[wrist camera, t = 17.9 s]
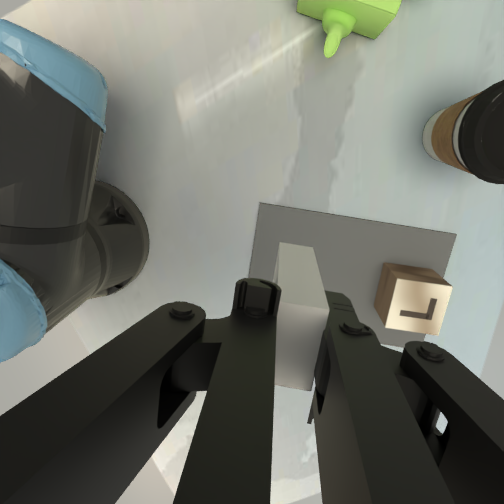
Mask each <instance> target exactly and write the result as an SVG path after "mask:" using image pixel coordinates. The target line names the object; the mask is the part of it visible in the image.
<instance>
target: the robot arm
mask: <svg viewBox="0 0 504 504" xmlns="http://www.w3.org/2000/svg"><path fill="white" fill-rule="evenodd" d="M107 98H108V87H107V83H106V81H105V79H104V77H103V76H102V74H101V73H100V72H99V71H98V70H97V69H96V68H95V67H94V66H93V65H91V64H90V63H89V62H87V61H86V60H84V59H82V58H81V57H79V56H77V55H76V54H74V53H72V52H70V51H68V50H67V49H65V48H63V47H61V46H59V45H57V44H55V43H53V42H51V41H49V40H47V39H45V38H43V37H41V36H39V35H37V34H35V33H33V32H31V31H29V30H27V29H25V28H23V27H21V26H18V25H16V24H14V23H12V22H9V21H7V20H4V19H0V362H3V361H6V360H8V359H10V358H12V357H14V356H16V355H17V354H18V353H20V352H21V351H23V350H24V349H26V348H27V347H30V346H33V345H35V344H36V343H38V342H39V341H40V340H41V338H43V335H44V334H45V333H47V332H48V331H49V330H51V329H52V328H53V327H54V326H55V325H57V324H58V323H59V322H60V321H62V320H63V319H64V318H65V317H67V316H68V315H69V314H70V313H72V312H73V311H74V310H75V309H77V308H78V307H79V306H80V305H81V304H83V303H84V302H85V301H86V300H87V299H92V298H97V297H103V296H107V295H110V294H113V293H116V292H117V291H119V290H121V289H123V288H124V287H126V286H127V285H128V284H129V283H130V282H131V281H132V280H134V279H135V278H136V277H137V276H138V274H139V273H140V272H141V270H142V269H143V267H144V265H145V262H146V260H147V256H148V252H149V235H148V230H147V226H146V223H145V221H144V218H143V216H142V214H141V213H140V211H139V209H138V208H137V206H136V205H135V204H134V203H133V202H132V201H131V199H130V198H129V197H127V196H126V195H125V194H124V193H123V192H121V191H120V190H118V189H117V188H115V187H113V186H111V185H109V184H106V183H104V182H100V181H96V180H95V177H96V171H97V166H98V160H99V154H100V148H101V142H102V137H103V133H105V132H106V125H105V123H104V122H105V114H106V106H107ZM205 318H206V314H205V311H204V310H203V309H202V308H201V307H199V306H197V305H194V304H190V303H187V302H180V301H179V302H173V303H167V304H165V305H163V306H161V307H159V308H158V309H156V310H155V311H153V312H152V313H150V314H149V315H147V316H146V317H144V318H143V319H142V320H140V321H139V322H137V323H136V324H134V325H133V326H131V327H130V328H128V329H127V330H125V331H124V332H123V333H121V334H120V335H118V336H117V337H115V338H114V339H112V340H111V341H109V342H108V343H106V344H105V345H103V346H102V347H101V348H99V349H98V350H96V351H95V352H93V353H92V354H90V355H89V356H87V357H86V358H85V359H83V360H82V361H80V362H79V363H77V364H76V365H74V366H73V367H71V368H70V369H68V370H67V371H65V372H64V373H62V374H61V375H60V376H58V377H57V378H55V379H54V380H52V381H51V382H49V383H48V384H46V385H45V386H44V387H42V388H40V389H39V390H38V391H36V392H35V393H33V394H32V395H30V396H29V397H27V398H26V399H25V400H23V401H22V402H20V403H19V404H17V405H16V406H14V407H13V408H11V409H10V410H8V411H7V412H5V413H4V414H2V415H1V416H0V504H115V503H116V501H117V500H118V499H119V497H120V496H121V495H122V494H123V492H124V491H125V490H126V488H127V487H128V486H129V485H130V483H131V482H132V481H133V479H134V478H135V477H136V475H137V474H138V472H139V471H140V470H141V469H142V467H143V466H144V465H145V464H146V462H147V461H148V460H149V458H150V457H151V456H152V454H153V453H154V452H155V451H156V449H157V448H158V447H159V445H160V444H161V443H162V441H163V440H164V439H165V437H166V436H167V435H168V434H169V432H170V431H171V430H172V428H173V427H174V426H175V424H176V423H177V422H178V420H179V419H180V418H181V417H182V415H183V414H184V413H185V411H186V410H187V409H188V407H189V406H190V405H191V403H192V402H193V401H194V399H195V396H196V392H197V391H207V393H206V397H205V400H204V403H203V406H202V410H201V413H200V416H199V419H198V423H197V426H196V429H195V432H194V436H193V439H192V442H191V446H190V449H189V452H188V455H187V459H186V462H185V465H184V468H183V472H182V475H181V478H180V482H179V485H178V488H177V491H176V495H175V498H174V501H173V504H270V491H271V464H272V437H273V411H274V385H278V386H284V387H289V388H295V389H301V390H306V391H311V390H312V385H313V381H314V376H315V384H316V387H315V391H314V395H313V400H312V404H311V409H310V413H309V417H308V422H307V423H308V424H311V422H312V419H313V418H314V424H315V434H316V444H317V453H318V463H319V473H320V483H321V493H322V502H323V504H504V400H503V399H502V398H501V397H500V396H499V395H497V394H496V393H495V392H494V391H493V390H492V389H491V388H489V387H488V386H487V385H486V384H485V383H484V382H482V381H481V380H480V379H479V378H478V377H477V376H476V375H475V374H473V373H472V372H471V371H470V370H469V369H468V368H467V367H465V366H464V365H463V364H462V363H461V362H460V361H458V360H457V359H456V358H455V357H454V356H453V355H451V354H450V353H449V352H447V351H446V350H444V349H442V348H440V347H438V346H437V345H436V344H433V343H431V344H430V342H426V341H423V342H421V341H409V342H407V343H406V344H405V346H404V350H403V353H401V352H398V351H395V350H392V349H389V348H387V347H384V346H381V344H380V342H379V340H378V338H377V336H376V334H375V332H374V331H373V330H372V329H371V328H370V327H369V326H367V325H365V324H363V323H361V322H359V319H358V317H357V315H356V313H355V310H354V307H353V305H352V303H351V300H350V299H349V298H348V297H346V296H345V295H344V294H343V293H338V292H332V291H326V290H324V287H323V284H322V280H321V276H320V272H319V269H318V265H317V261H316V257H315V254H314V250H313V247H307V246H301V245H295V244H288V243H282V242H280V243H279V249H278V255H277V261H276V266H275V272H274V278H273V282H270V281H268V280H263V279H258V278H244V279H241V280H238V281H237V282H236V287H235V293H234V300H233V307H232V312H231V315H230V316H228V317H225V318H221V319H205ZM440 412H442V413H443V414H444V416H445V417H446V419H447V421H448V423H447V426H446V429H445V431H444V433H443V434H442V433H441V432H440V431H439V430H438V429H437V428H436V427H435V426H436V423H437V420H438V418H439V415H440Z"/></svg>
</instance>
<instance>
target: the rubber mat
mask: <svg viewBox="0 0 504 504" xmlns="http://www.w3.org/2000/svg"><path fill="white" fill-rule="evenodd" d="M456 235H457V234H452V233H446V232H440V231H434V230H427V229H421V228H415V227H409V226H402V225H396V224H390V223H383V222H377V221H371V220H365V219H358V218H352V217H346V216H340V215H333V214H327V213H321V212H315V211H308V210H302V209H296V208H290V207H283V206H277V205H271V204H264V203H260V207H259V213H258V220H257V226H256V233H255V239H254V246H253V252H252V259H251V265H250V272H249V278H258V279H263V280H268V281H270V282H273V278H274V272H275V266H276V261H277V255H278V249H279V243H280V242H282V243H288V244H295V245H301V246H307V247H313V250H314V254H315V257H316V261H317V265H318V269H319V272H320V276H321V280H322V284H323V287H324V290H326V291H332V292H338V293H343V294H344V295H345V296H346V297H348V298H349V299H350V300H351V303H352V305H353V307H354V310H355V313H356V315H357V317H358V319H359V322H361V323H363V324H365V325H367V326H369V327H370V328H371V329H372V330H373V331H374V332H375V334H376V336H377V338H378V340H379V342H380V344H385V345H391V346H397V347H403V348H404V346H405V344H406V343H407V342H409V341H421V342H423V341H424V338H425V335H426V334H424V333H418V332H411V331H404V330H398V329H391V328H385V326H384V324H383V323H382V321H381V319H380V317H379V315H378V313H377V311H376V310H375V308H374V302H375V297H376V293H377V289H378V285H379V280H380V276H381V272H382V268H383V264H384V262H386V263H393V264H400V265H407V266H414V267H421V268H428V269H433V270H434V271H435V272H436V273H437V274H439V275H440V276H441V277H442V278H443V277H444V274H445V271H446V267H447V264H448V261H449V258H450V255H451V251H452V248H453V245H454V242H455V239H456Z"/></svg>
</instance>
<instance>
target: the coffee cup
mask: <svg viewBox="0 0 504 504" xmlns="http://www.w3.org/2000/svg"><path fill="white" fill-rule="evenodd" d="M422 140H423V145H424V148H425V150H426V152H427V153H428V154H429V155H430V156H431V157H432V158H434V159H435V160H438V161H440V162H443V163H446V164H449V165H451V166H454V167H456V168H458V169H461V170H463V171H466V172H468V173H471V174H473V175H475V176H476V177H478V178H479V179H482V180H484V181H486V182H490V183H495V184H504V80H503V81H500V82H498V83H496V84H493V85H492V86H490V87H489V88H487V89H486V90H484V91H482V92H480V93H478V94H476V95H473V96H471V97H469V98H467V99H465V100H463V101H460V102H458V103H456V104H454V105H452V106H450V107H447V108H445V109H443V110H440V111H439V112H437V113H436V114H434V115H433V116H432V117H431V118H430V119H429V121H428V122H427V124H426V126H425V128H424V131H423V137H422Z"/></svg>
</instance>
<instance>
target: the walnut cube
mask: <svg viewBox="0 0 504 504" xmlns="http://www.w3.org/2000/svg"><path fill="white" fill-rule="evenodd" d="M452 288H453V287H452V286H451V285H450V284H449V283H448V282H447V281H446V280H444V279H443V278H442V277H441V276H440V275H439V274H437V273H436V272H435V271H434V270H433V269H428V268H421V267H414V266H407V265H400V264H393V263H386V262H384V264H383V268H382V272H381V276H380V280H379V285H378V289H377V293H376V297H375V302H374V308H375V310H376V311H377V313H378V315H379V317H380V319H381V321H382V323H383V324H384V326H385V328H391V329H398V330H404V331H411V332H418V333H424V334H431V335H439V332H440V328H441V325H442V321H443V318H444V315H445V311H446V308H447V305H448V301H449V298H450V294H451V291H452Z"/></svg>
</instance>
